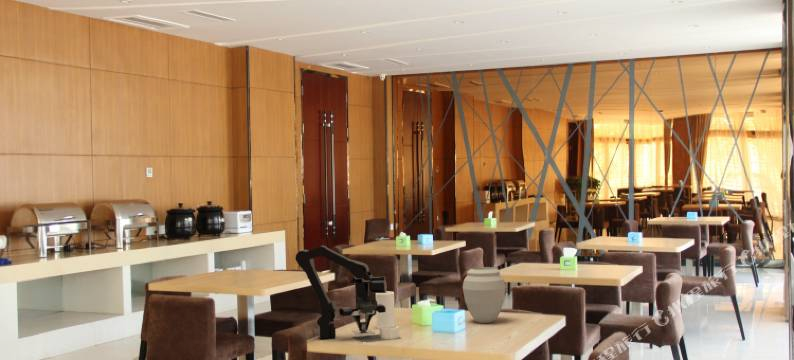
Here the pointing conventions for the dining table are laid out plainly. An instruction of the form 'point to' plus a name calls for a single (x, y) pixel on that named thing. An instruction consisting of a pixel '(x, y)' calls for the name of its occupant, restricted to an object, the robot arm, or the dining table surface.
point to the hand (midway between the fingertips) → (363, 330)
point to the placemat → (371, 338)
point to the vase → (484, 293)
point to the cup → (389, 315)
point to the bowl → (389, 332)
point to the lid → (363, 330)
